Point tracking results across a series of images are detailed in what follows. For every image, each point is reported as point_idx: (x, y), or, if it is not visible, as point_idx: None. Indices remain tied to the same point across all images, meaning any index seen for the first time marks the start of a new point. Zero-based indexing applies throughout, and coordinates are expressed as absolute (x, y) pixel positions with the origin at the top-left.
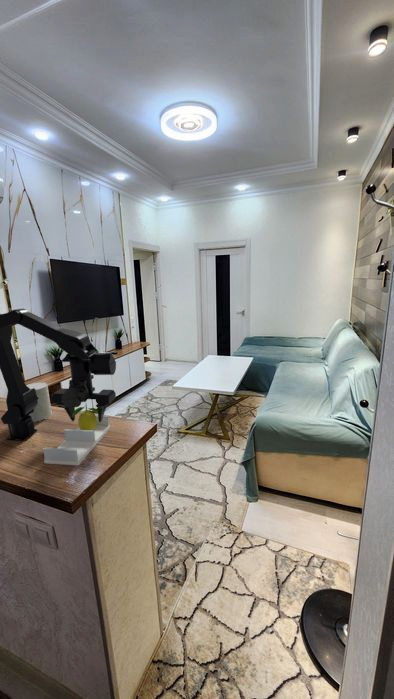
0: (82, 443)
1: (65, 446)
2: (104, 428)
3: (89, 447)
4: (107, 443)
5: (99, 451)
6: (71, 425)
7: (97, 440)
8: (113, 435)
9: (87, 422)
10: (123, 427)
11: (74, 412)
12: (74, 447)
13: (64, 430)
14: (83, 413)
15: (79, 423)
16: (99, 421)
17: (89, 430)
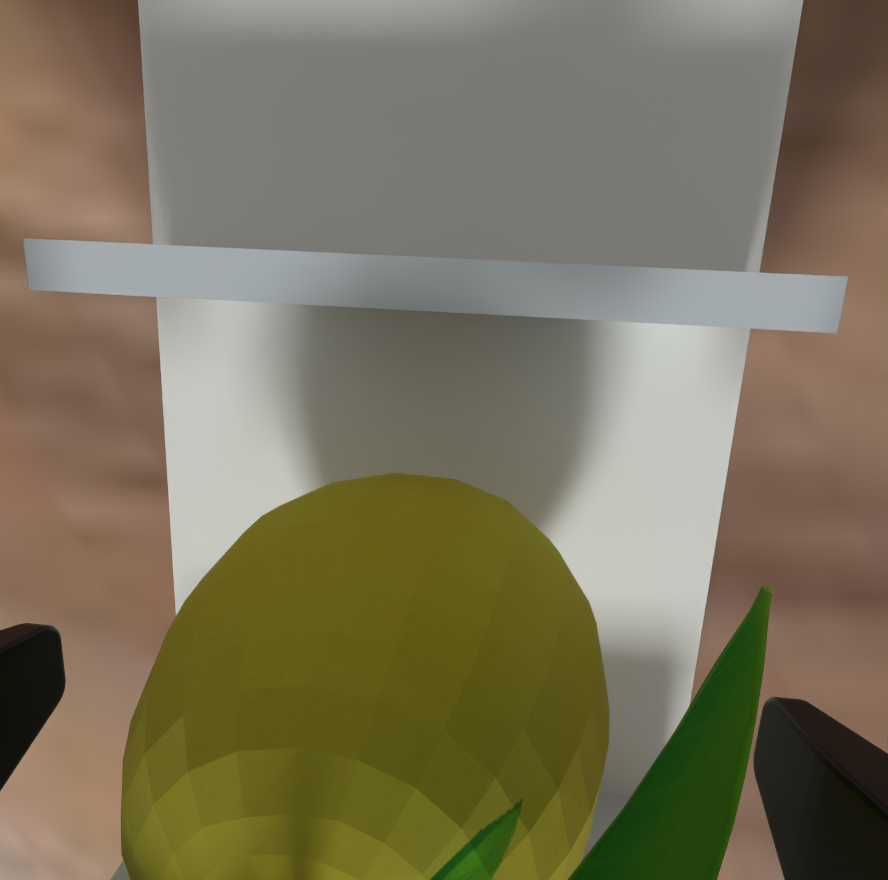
0: (359, 187)
1: (643, 52)
2: None
3: (164, 56)
4: (28, 308)
5: (28, 62)
6: None
7: (163, 324)
8: (56, 534)
9: (263, 547)
10: None
11: (697, 797)
12: (445, 32)
13: (834, 280)
14: (365, 836)
15: (510, 547)
16: (23, 629)
17: (142, 289)
